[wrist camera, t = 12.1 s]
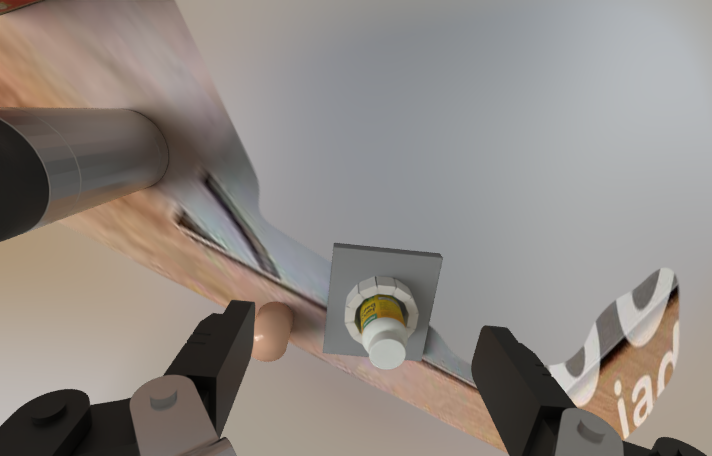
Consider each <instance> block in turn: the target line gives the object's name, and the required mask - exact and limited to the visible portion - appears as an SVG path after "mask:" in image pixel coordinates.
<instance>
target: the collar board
mask: <svg viewBox="0 0 712 456" xmlns="http://www.w3.org/2000/svg"><path fill="white" fill-rule="evenodd" d="M442 260H443V258H442V256H441V255H440V254H439V253H429V252H419V251H409V250H400V249H390V248H380V247H370V246H360V245H350V244H340V243H334V247H333V257H332V266H331V276H330V286H329V296H328V306H327V315H326V325H325V335H324V345H323V353H329V354H340V355H352V356H364V357H369V353H368V352H367V351H366V350H365V348H364V346H363V343H362V334H361V317H360V307H361V304H362V302H363V300H364V299H366V298H369V297H372V296H374V295H377V294H384V295H393V296H394V297H395V298H396V299H397V301H398V303H399V305H400V309H401V312H402V316H403V319H404V323H405V326H406V330H407V334H408V341H407V345H406V347H405V350H406V357H405V359H404V360H411V361H421V359H422V355H423V350H424V345H425V340H426V336H427V331H428V326H429V321H430V316H431V312H432V307H433V302H434V298H435V293H436V288H437V283H438V279H439V274H440V269H441V264H442Z"/></svg>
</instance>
